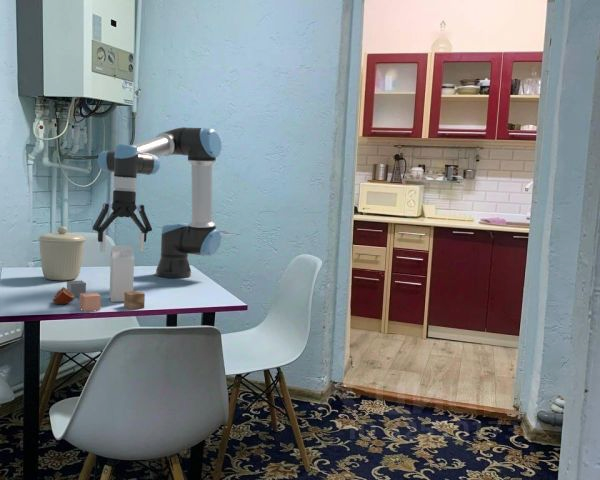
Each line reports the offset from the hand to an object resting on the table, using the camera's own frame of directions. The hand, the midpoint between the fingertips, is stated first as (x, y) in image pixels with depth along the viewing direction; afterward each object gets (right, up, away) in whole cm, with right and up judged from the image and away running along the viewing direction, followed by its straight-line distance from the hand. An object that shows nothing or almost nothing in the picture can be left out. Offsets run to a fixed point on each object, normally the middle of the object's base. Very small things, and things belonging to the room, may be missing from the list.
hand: (122, 251), depth 197 cm
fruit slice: (-17, -17, -9) cm, 26 cm away
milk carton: (-1, -17, +2) cm, 17 cm away
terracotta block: (-6, -19, -14) cm, 24 cm away
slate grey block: (-17, -16, +3) cm, 24 cm away
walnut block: (+6, -19, -7) cm, 21 cm away
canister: (-34, -12, +31) cm, 48 cm away
